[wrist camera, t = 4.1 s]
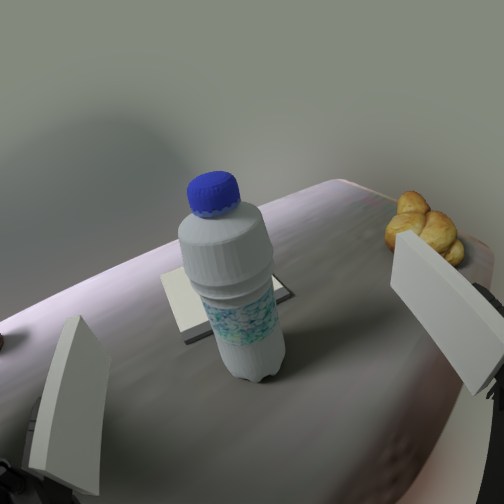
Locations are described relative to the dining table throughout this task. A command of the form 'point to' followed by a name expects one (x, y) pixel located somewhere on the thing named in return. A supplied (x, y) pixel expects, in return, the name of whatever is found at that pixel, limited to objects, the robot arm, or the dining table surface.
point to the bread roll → (425, 227)
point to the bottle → (233, 275)
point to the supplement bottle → (1, 340)
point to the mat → (196, 304)
